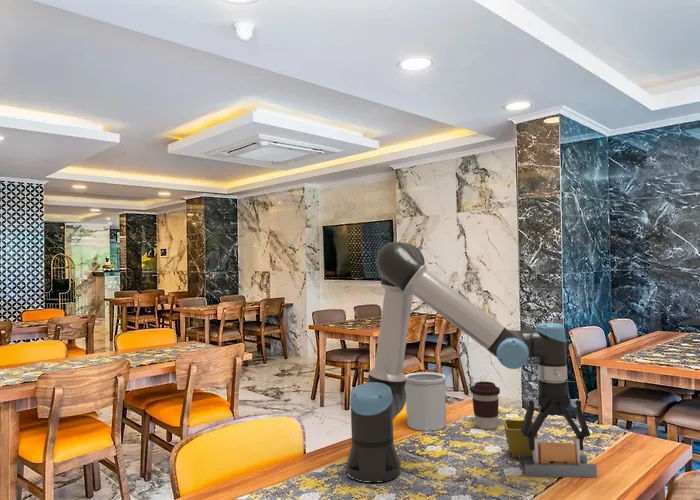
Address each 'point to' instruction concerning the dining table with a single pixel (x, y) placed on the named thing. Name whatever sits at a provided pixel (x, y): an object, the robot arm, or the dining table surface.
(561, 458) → the brown notched block
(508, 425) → the flower pot
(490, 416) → the coffee cup
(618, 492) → the dining table surface
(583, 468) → the rail
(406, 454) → the dining table surface
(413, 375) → the utensil holder
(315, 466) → the dining table surface
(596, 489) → the dining table surface
